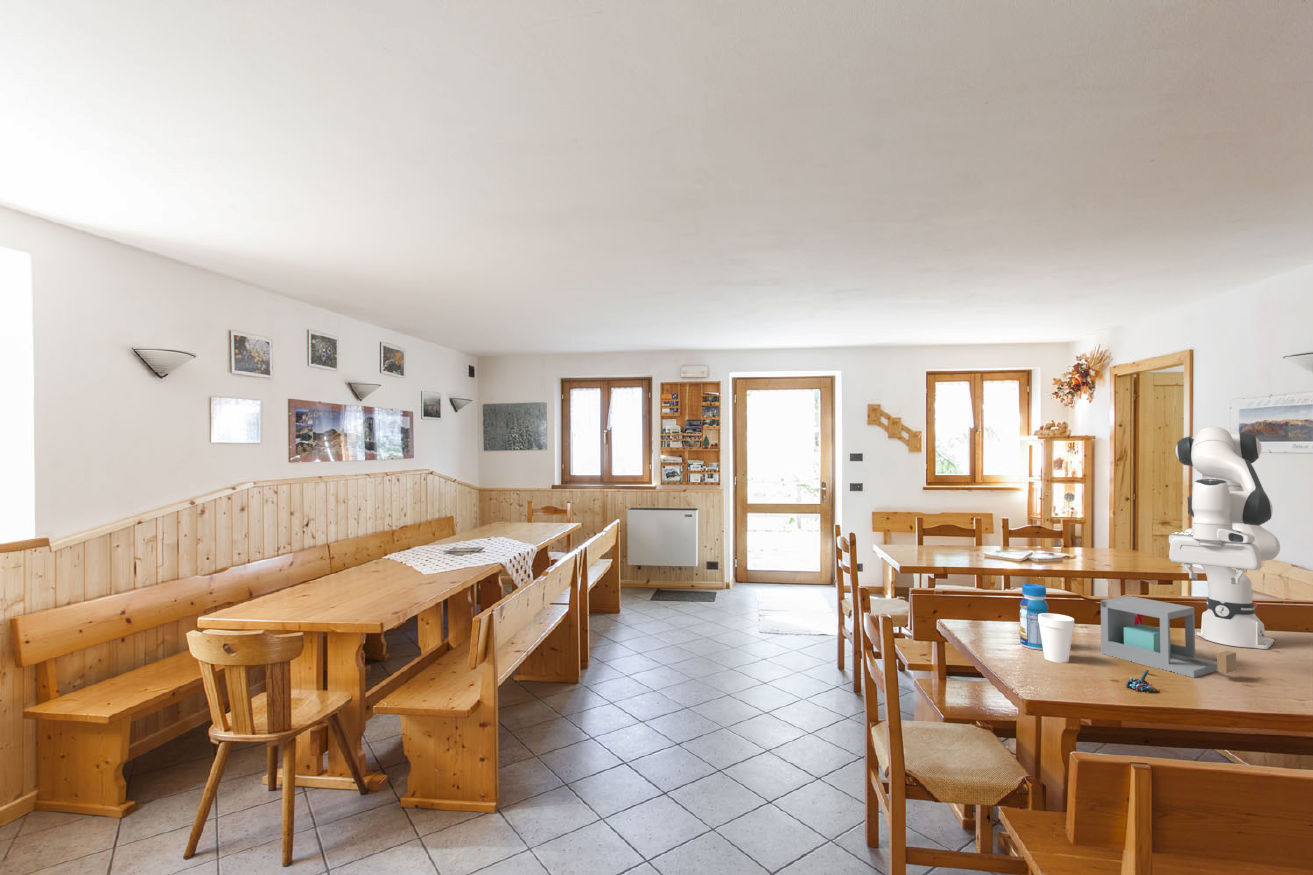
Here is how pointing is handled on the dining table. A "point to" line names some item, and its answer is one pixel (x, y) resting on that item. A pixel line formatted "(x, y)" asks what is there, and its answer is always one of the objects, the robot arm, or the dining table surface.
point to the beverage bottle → (1032, 615)
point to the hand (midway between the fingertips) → (1214, 581)
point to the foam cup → (1056, 636)
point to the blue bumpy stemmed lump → (1140, 684)
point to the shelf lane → (1123, 615)
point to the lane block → (1150, 641)
